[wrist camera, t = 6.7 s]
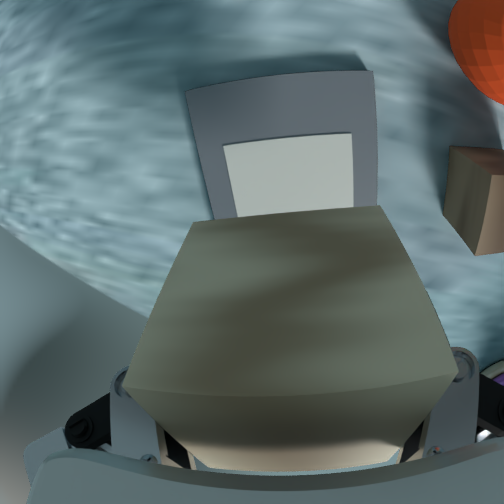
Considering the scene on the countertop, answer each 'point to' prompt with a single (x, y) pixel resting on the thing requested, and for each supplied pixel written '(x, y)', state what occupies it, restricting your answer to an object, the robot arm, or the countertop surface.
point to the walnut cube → (476, 197)
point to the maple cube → (292, 343)
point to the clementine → (480, 44)
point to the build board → (287, 142)
